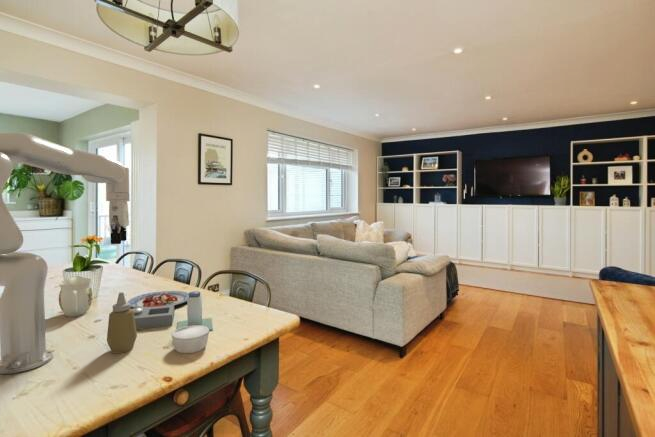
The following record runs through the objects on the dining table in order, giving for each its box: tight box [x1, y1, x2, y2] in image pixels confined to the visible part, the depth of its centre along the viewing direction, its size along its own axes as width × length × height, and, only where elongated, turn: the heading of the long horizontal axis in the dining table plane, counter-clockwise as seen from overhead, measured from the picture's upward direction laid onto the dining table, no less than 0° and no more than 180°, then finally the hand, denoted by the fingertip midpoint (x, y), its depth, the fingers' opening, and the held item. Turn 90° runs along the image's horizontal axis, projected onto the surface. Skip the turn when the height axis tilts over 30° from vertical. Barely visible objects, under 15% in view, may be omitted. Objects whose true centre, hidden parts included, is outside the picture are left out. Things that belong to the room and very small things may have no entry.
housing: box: [134, 305, 175, 330], centre depth 128 cm, size 16×12×4 cm
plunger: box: [131, 307, 143, 315], centre depth 126 cm, size 4×4×4 cm
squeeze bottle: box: [106, 292, 138, 354], centre depth 105 cm, size 8×8×18 cm
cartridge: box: [186, 290, 203, 326], centre depth 124 cm, size 5×5×12 cm
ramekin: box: [171, 325, 210, 354], centre depth 107 cm, size 11×11×5 cm
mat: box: [176, 317, 214, 332], centre depth 125 cm, size 12×12×1 cm
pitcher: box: [58, 275, 94, 317], centre depth 135 cm, size 11×18×14 cm, turn 34°
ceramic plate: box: [127, 290, 190, 309], centre depth 152 cm, size 26×26×3 cm
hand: (118, 242), depth 128 cm, fingers open, 9 cm apart
